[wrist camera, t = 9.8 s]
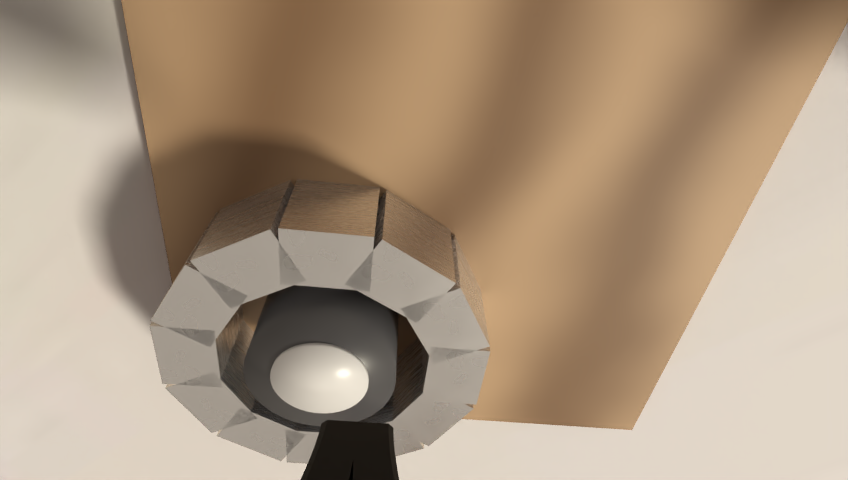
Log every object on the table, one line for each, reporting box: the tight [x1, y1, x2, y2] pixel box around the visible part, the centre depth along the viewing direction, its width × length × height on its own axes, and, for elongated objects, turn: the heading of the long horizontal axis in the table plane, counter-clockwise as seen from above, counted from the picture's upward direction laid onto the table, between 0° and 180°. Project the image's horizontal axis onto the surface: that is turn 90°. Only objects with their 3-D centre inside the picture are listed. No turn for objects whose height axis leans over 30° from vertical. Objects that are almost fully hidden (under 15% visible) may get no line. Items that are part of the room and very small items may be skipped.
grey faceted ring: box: [150, 179, 490, 463], centre depth 19 cm, size 11×11×3 cm
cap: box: [243, 285, 399, 426], centre depth 19 cm, size 5×5×4 cm
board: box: [121, 0, 848, 430], centre depth 19 cm, size 20×20×1 cm
